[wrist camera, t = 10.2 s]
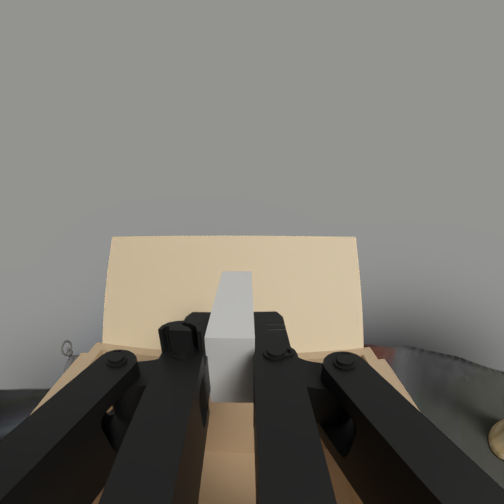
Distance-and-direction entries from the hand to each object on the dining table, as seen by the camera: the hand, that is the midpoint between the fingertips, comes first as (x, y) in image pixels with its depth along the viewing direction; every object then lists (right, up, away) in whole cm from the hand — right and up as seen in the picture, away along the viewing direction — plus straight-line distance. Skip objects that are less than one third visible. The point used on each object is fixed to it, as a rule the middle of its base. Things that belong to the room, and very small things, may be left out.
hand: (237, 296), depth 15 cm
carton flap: (-1, -1, +8) cm, 9 cm away
